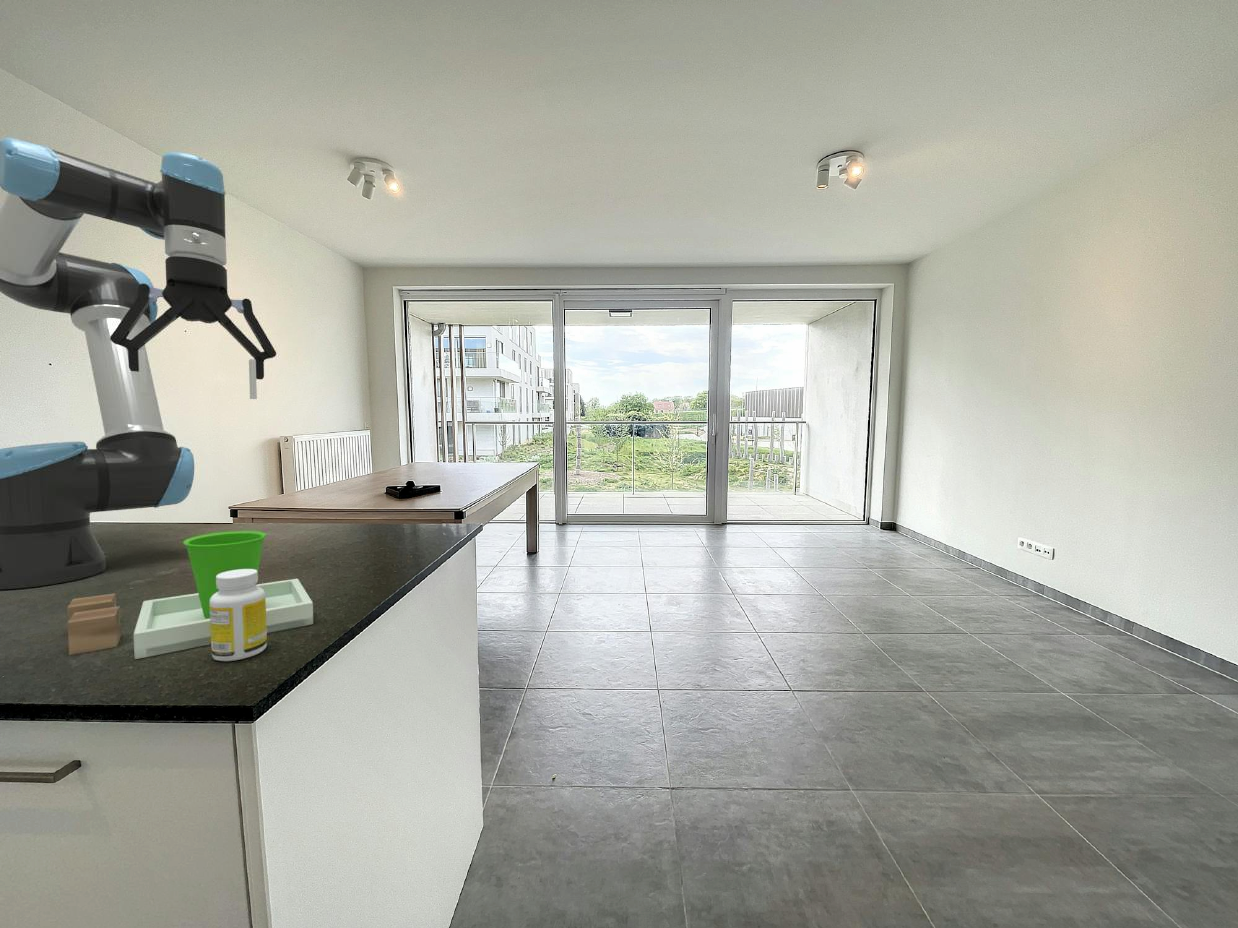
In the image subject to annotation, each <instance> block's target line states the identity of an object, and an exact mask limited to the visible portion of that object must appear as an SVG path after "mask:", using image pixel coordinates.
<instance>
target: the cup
mask: <svg viewBox="0 0 1238 928" xmlns="http://www.w3.org/2000/svg"><path fill="white" fill-rule="evenodd" d="M265 538H267V534H266V533H265V532H263V531H258V530H255V531H254V530H238V531H237V530H236V531H235V530H234V531H223V532H221V531H220V532H214V533H206V534H203V535H196V536H193V537H189V538H186V539H185V540H183V543H182V545H184V546H186V550H187V555H188V558H189V561H190V565H191V569H192V573H193V577H194V582H195V585H196V590H197V593H198V594H199V598H200V602H201V606H202V610H203V614H204V618H205V619H210V606H209V605H210V598H211V597H212V596H213V595H214V594H215V593H217V592H219V589H218V588H217V586H216V576H217V575H218V574H220V573H223V572H227V571H232V570H238V569H255V570H257V572H258V573H259V570H260V569H259V568H260V563H261V558H262V550H263V545H264V544H263V543H264V539H265Z"/></svg>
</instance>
